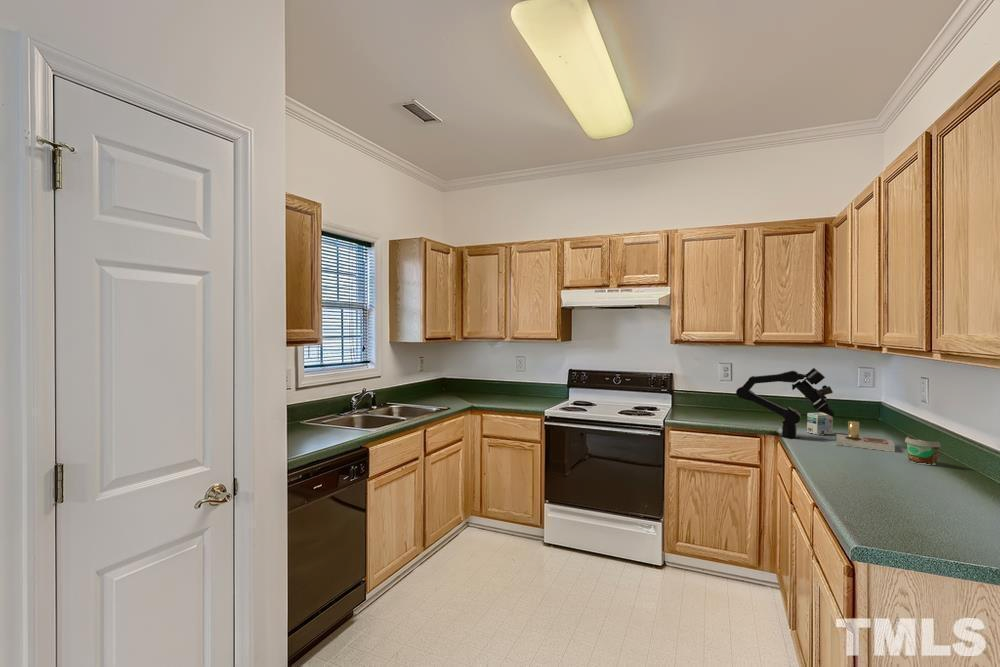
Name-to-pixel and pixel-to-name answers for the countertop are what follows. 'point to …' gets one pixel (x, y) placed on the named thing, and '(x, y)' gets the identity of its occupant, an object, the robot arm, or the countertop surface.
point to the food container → (922, 451)
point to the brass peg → (853, 430)
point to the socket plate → (866, 443)
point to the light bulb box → (819, 423)
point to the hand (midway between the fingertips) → (833, 414)
